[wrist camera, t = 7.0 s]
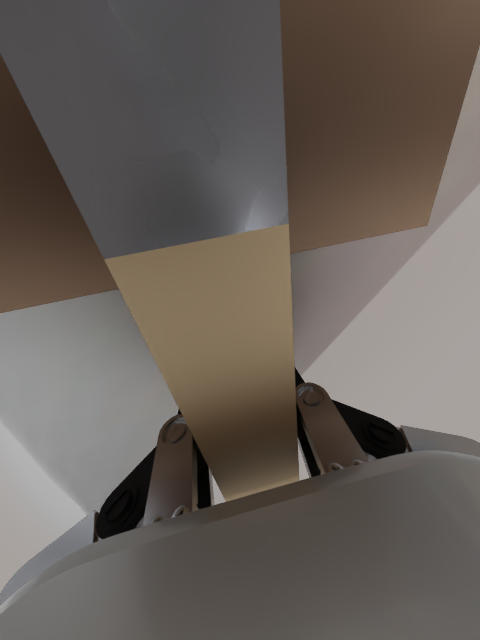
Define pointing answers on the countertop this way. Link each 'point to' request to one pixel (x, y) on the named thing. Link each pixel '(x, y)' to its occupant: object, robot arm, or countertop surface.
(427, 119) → the wooden two-prong bracket
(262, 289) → the silver and tan rail
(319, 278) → the countertop surface
